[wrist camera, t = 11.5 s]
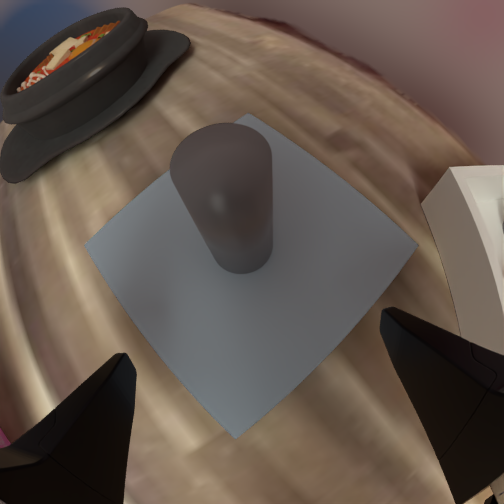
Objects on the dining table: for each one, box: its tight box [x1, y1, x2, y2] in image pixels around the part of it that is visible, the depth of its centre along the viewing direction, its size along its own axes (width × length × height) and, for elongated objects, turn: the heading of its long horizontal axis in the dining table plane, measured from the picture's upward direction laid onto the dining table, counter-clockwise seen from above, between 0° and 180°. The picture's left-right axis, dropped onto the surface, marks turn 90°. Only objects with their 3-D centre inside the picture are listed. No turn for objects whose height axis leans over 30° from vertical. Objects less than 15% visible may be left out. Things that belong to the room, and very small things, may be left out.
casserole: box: [0, 8, 191, 184], centre depth 21 cm, size 25×19×8 cm
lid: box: [84, 113, 418, 439], centre depth 13 cm, size 14×14×9 cm
